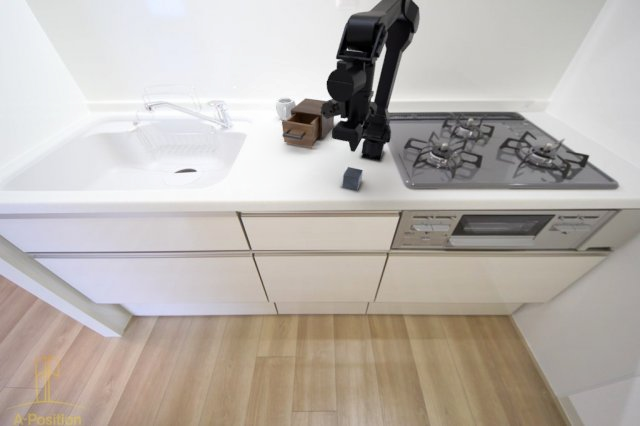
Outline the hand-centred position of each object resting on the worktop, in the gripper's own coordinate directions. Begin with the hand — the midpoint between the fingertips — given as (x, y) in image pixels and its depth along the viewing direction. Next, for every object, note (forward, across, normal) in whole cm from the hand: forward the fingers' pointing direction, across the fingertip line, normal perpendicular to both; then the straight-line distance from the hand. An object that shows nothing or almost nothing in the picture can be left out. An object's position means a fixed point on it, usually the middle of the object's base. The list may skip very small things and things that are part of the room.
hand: (353, 150), depth 64 cm
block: (+11, 0, +1) cm, 11 cm away
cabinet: (+11, -29, -25) cm, 40 cm away
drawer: (+10, -18, -25) cm, 32 cm away
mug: (+11, -34, -40) cm, 54 cm away
